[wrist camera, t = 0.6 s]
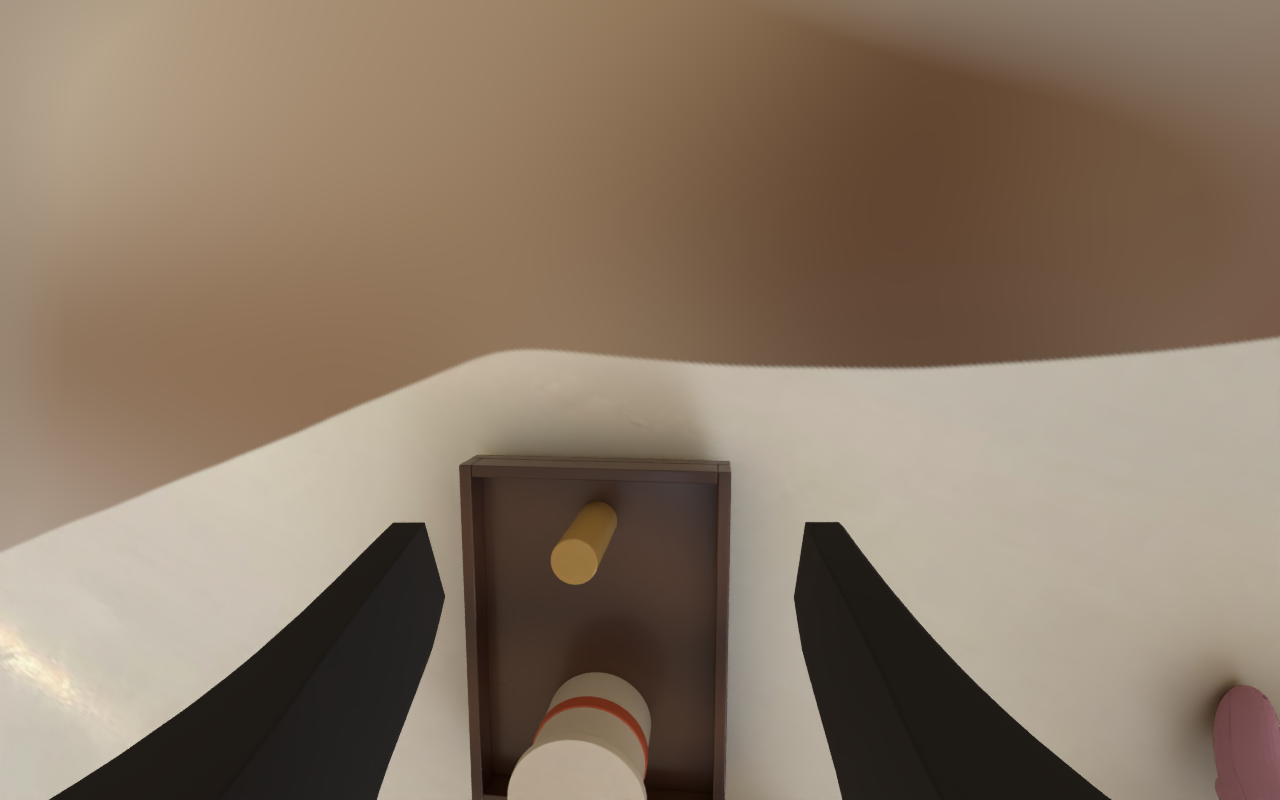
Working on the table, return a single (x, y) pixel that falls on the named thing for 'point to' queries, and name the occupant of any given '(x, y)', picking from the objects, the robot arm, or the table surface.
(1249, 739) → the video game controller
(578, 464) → the tray
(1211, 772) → the table surface
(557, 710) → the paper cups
